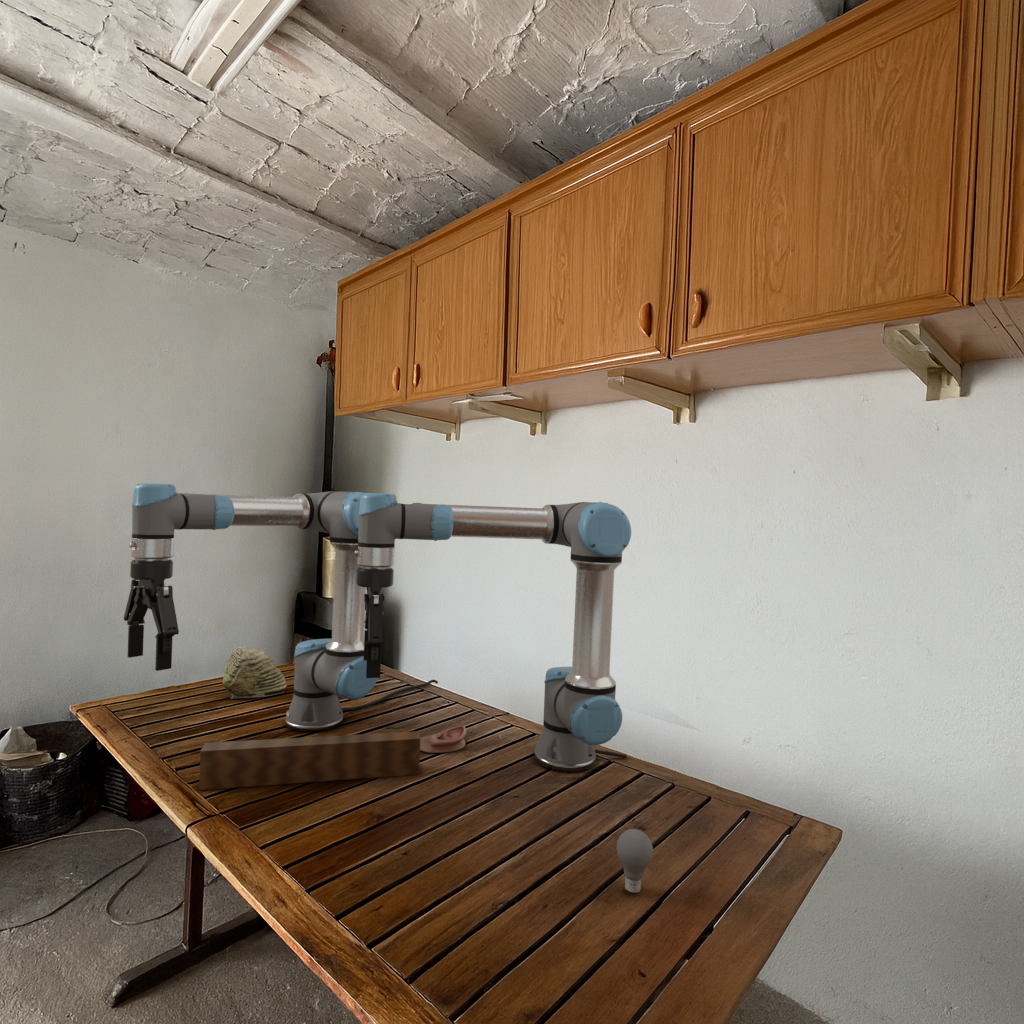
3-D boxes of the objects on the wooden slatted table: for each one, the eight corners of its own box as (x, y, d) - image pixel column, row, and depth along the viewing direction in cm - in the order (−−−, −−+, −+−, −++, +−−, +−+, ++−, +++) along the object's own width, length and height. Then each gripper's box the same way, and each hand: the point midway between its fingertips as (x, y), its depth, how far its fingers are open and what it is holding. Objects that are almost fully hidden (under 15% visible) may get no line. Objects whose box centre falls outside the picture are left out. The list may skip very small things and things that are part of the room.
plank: (199, 790, 134) (200, 751, 134) (203, 780, 139) (204, 742, 139) (418, 774, 147) (420, 738, 146) (416, 765, 151) (417, 731, 151)
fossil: (218, 695, 195) (220, 647, 195) (278, 685, 208) (279, 640, 207) (228, 703, 189) (230, 653, 188) (289, 692, 201) (290, 645, 201)
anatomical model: (407, 734, 160) (423, 719, 171) (406, 749, 160) (422, 733, 171) (458, 740, 157) (470, 724, 168) (457, 756, 157) (469, 739, 168)
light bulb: (610, 879, 108) (613, 822, 108) (644, 879, 109) (647, 822, 109) (619, 902, 102) (622, 840, 102) (655, 901, 103) (658, 840, 103)
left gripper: (108, 554, 134) (105, 654, 134) (159, 565, 118) (155, 679, 119) (146, 552, 140) (143, 648, 140) (199, 563, 124) (196, 671, 124)
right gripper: (355, 560, 143) (351, 654, 143) (358, 574, 119) (354, 686, 119) (389, 561, 145) (385, 653, 145) (399, 574, 121) (394, 685, 121)
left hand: (148, 662), depth 129 cm, fingers open, 13 cm apart
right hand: (371, 668), depth 132 cm, fingers open, 13 cm apart
